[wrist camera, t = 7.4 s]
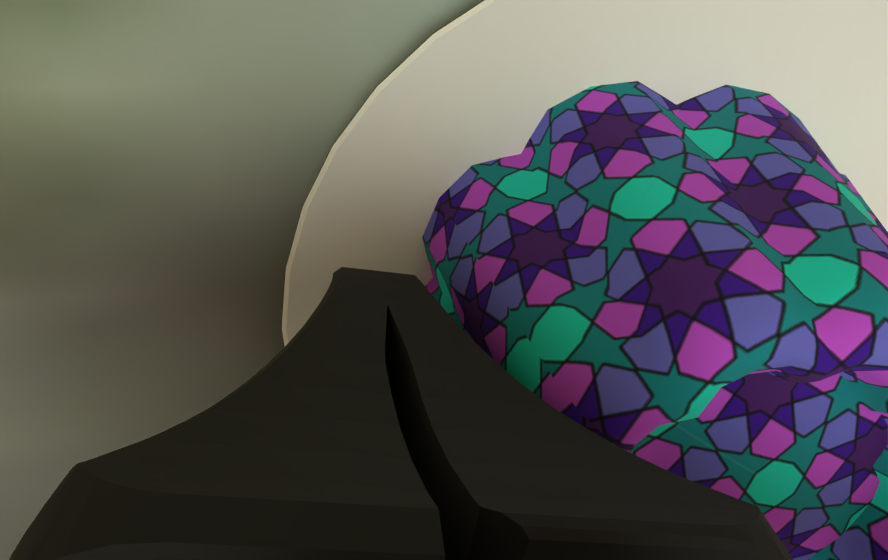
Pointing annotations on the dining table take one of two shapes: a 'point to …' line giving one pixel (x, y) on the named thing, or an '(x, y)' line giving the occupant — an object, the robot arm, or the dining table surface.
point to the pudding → (650, 233)
